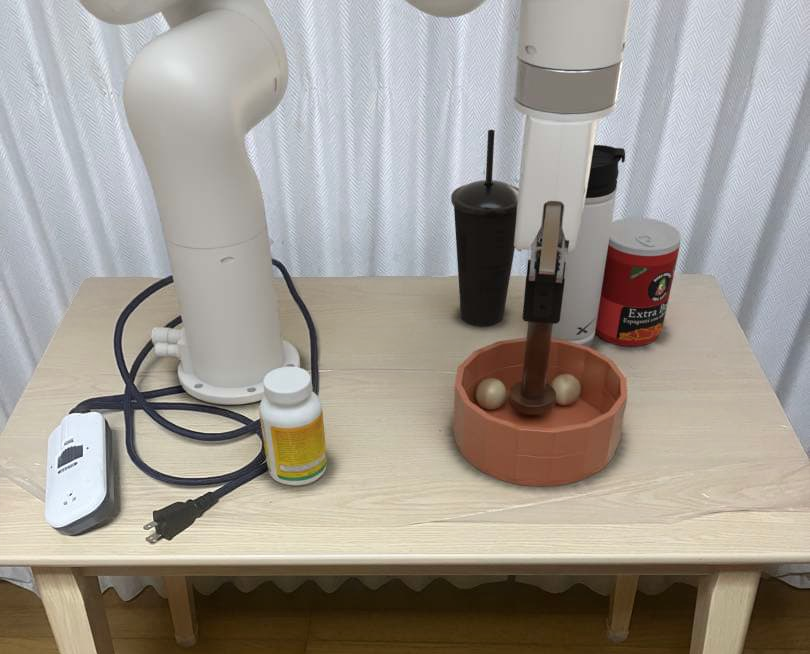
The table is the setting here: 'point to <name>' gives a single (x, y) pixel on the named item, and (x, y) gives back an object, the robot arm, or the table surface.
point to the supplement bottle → (292, 427)
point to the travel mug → (589, 251)
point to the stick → (535, 372)
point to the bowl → (540, 416)
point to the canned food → (637, 280)
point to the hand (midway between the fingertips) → (541, 311)
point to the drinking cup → (484, 244)
